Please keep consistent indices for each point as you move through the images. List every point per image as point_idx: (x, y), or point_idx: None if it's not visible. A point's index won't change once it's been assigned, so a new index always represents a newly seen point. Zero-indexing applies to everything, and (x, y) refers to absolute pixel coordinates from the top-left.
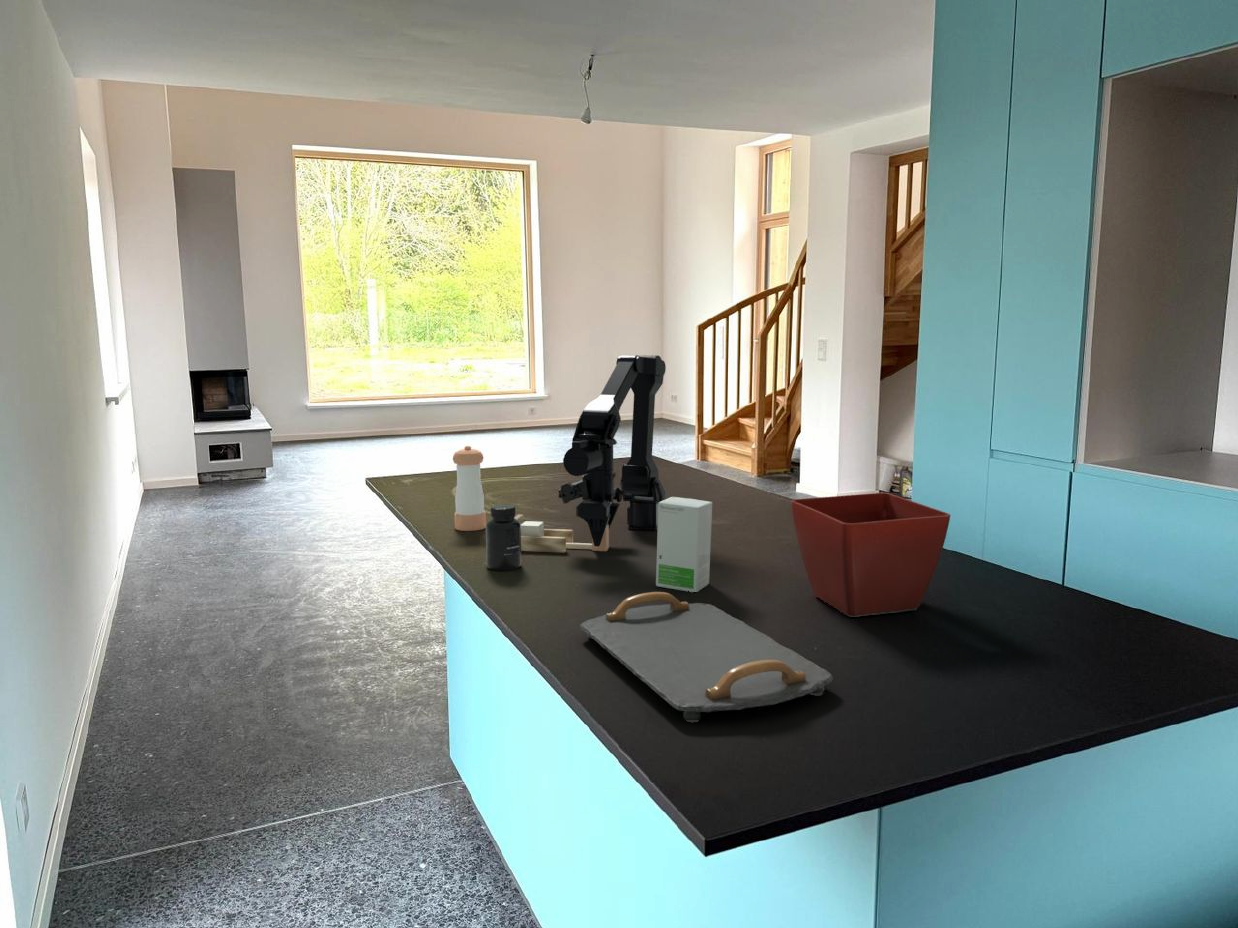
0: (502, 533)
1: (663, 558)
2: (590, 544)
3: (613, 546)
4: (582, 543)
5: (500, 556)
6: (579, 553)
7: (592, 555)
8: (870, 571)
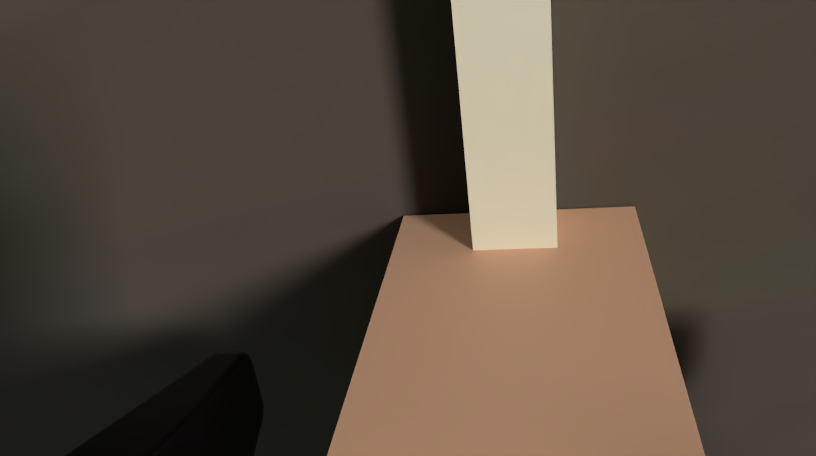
0: None
1: None
2: (489, 203)
3: (709, 428)
4: (525, 44)
5: None
6: (189, 74)
7: (168, 275)
8: None
